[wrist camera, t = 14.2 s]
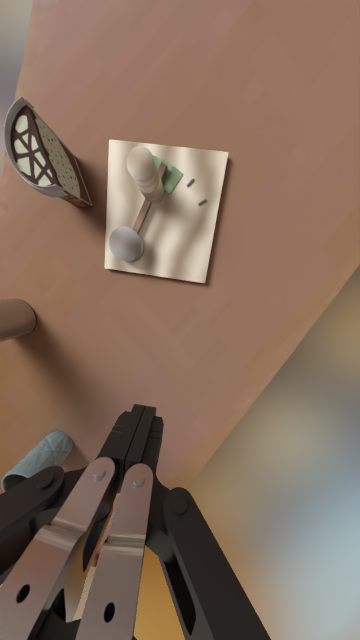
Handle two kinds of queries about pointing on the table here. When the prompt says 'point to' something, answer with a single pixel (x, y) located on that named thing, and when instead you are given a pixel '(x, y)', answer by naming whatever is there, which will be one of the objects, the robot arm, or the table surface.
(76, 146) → the table surface
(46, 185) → the food container
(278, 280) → the table surface
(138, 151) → the peg dial
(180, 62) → the table surface
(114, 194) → the dial plate
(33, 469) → the grey cup
